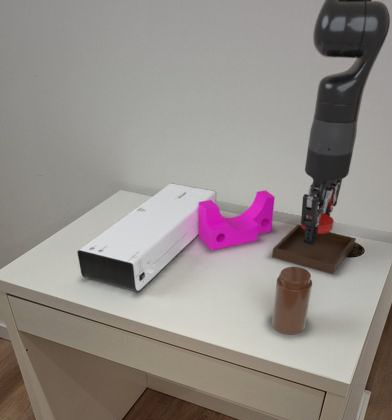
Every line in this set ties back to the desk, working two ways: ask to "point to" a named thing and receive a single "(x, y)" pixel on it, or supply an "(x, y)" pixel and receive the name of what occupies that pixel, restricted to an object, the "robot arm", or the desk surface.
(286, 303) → the jar
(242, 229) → the toy block
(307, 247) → the tray
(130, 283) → the laminator
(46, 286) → the desk surface
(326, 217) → the lid
